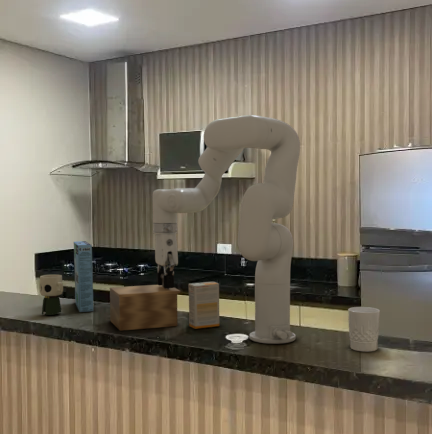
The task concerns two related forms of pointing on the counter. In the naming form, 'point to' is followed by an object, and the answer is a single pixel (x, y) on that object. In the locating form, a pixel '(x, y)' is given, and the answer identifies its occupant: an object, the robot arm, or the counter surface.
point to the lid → (143, 290)
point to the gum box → (83, 276)
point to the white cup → (363, 328)
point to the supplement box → (203, 305)
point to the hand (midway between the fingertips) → (165, 286)
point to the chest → (143, 311)
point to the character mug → (51, 293)
